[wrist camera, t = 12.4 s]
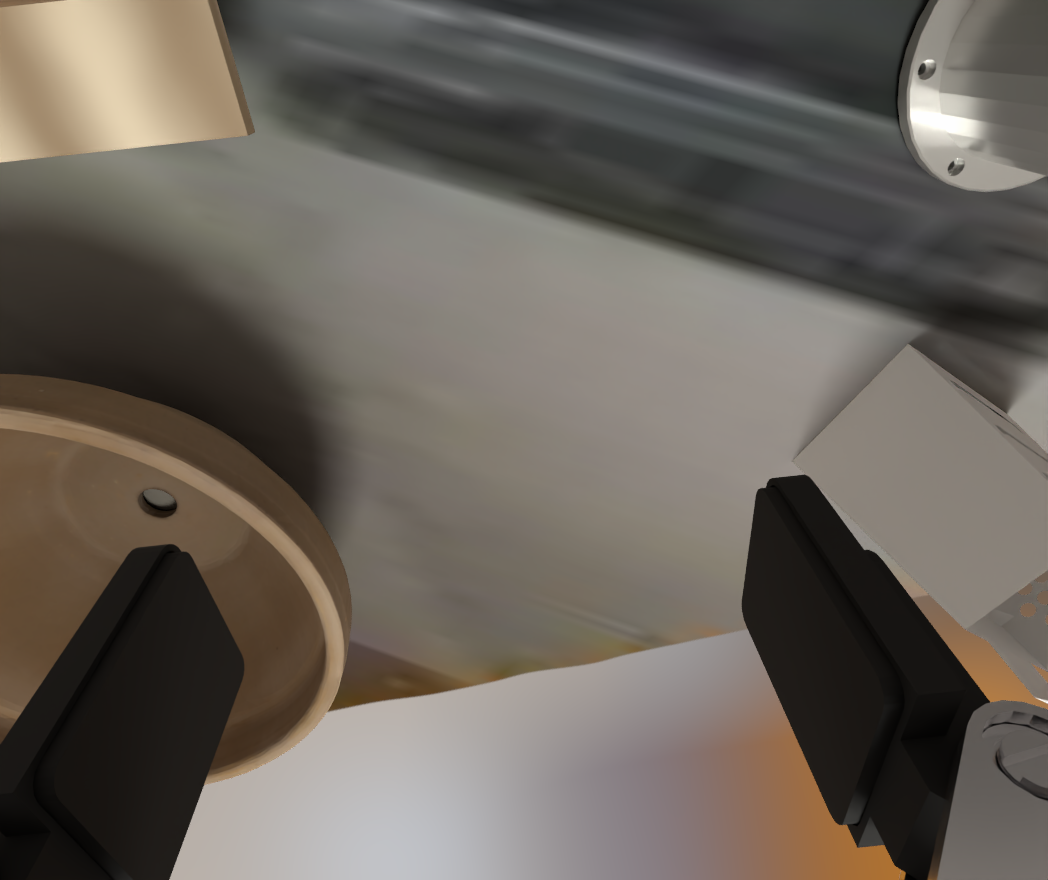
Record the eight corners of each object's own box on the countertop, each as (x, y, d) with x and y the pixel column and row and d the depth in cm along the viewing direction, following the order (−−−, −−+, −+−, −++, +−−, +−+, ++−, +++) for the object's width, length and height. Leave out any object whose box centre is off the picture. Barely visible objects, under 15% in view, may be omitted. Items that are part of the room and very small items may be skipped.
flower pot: (293, 255, 36) (209, 357, 24) (420, 603, 51) (403, 762, 40) (-185, 341, 37) (-473, 476, 26) (80, 657, 52) (-28, 826, 41)
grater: (1006, 414, 44) (1329, 649, 27) (889, 516, 49) (1104, 772, 32) (908, 343, 41) (1207, 563, 24) (791, 461, 45) (975, 714, 29)
